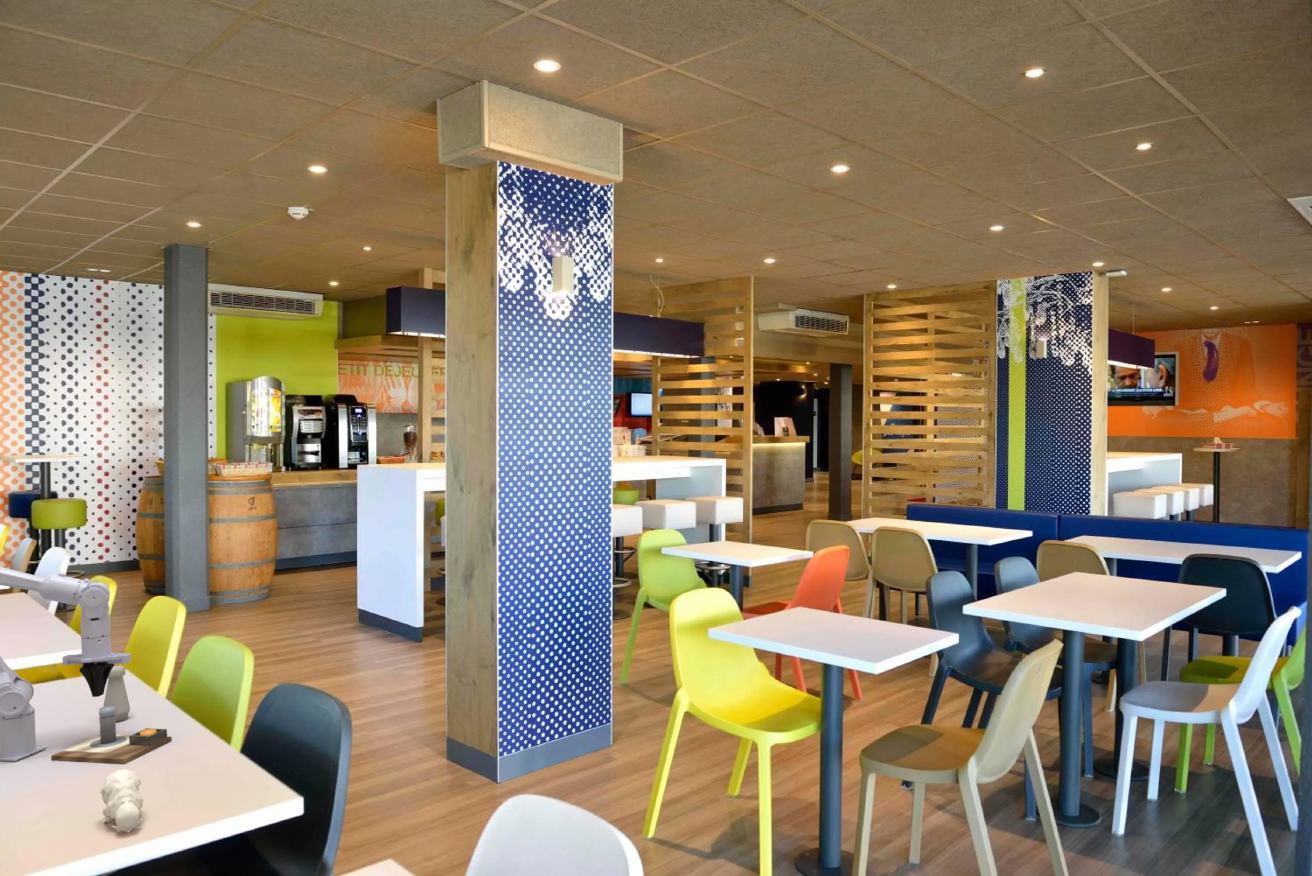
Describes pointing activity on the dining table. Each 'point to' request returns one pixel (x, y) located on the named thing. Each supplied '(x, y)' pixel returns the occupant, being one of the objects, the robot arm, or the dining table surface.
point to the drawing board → (114, 748)
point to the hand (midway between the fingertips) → (98, 695)
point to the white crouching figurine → (122, 800)
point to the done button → (147, 732)
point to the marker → (107, 724)
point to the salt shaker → (117, 693)
